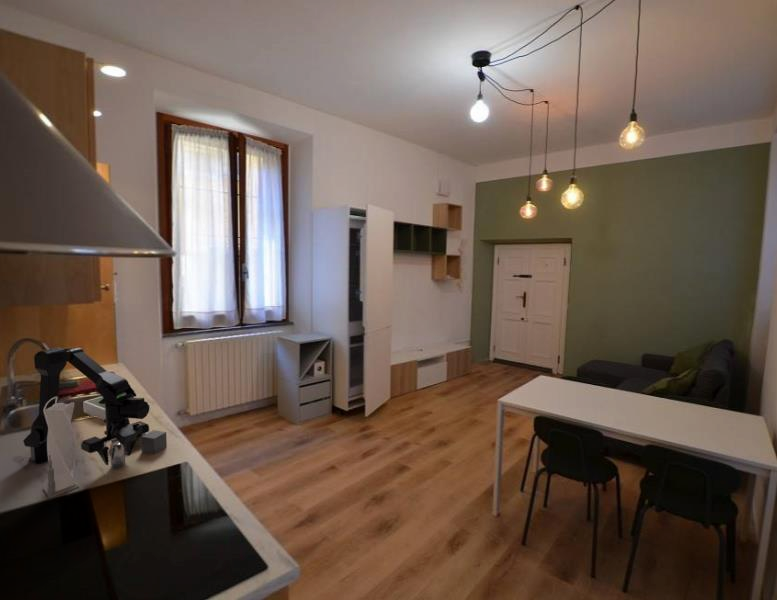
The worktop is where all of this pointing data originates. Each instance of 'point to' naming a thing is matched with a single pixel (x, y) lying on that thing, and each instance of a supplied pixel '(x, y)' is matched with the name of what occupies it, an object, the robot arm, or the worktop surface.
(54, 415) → the white tall twisted piece
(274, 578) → the worktop surface
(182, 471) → the worktop surface
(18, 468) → the worktop surface
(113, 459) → the grey cylinder
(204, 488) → the worktop surface
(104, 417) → the part corral
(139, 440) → the socket block
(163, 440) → the grey cube
